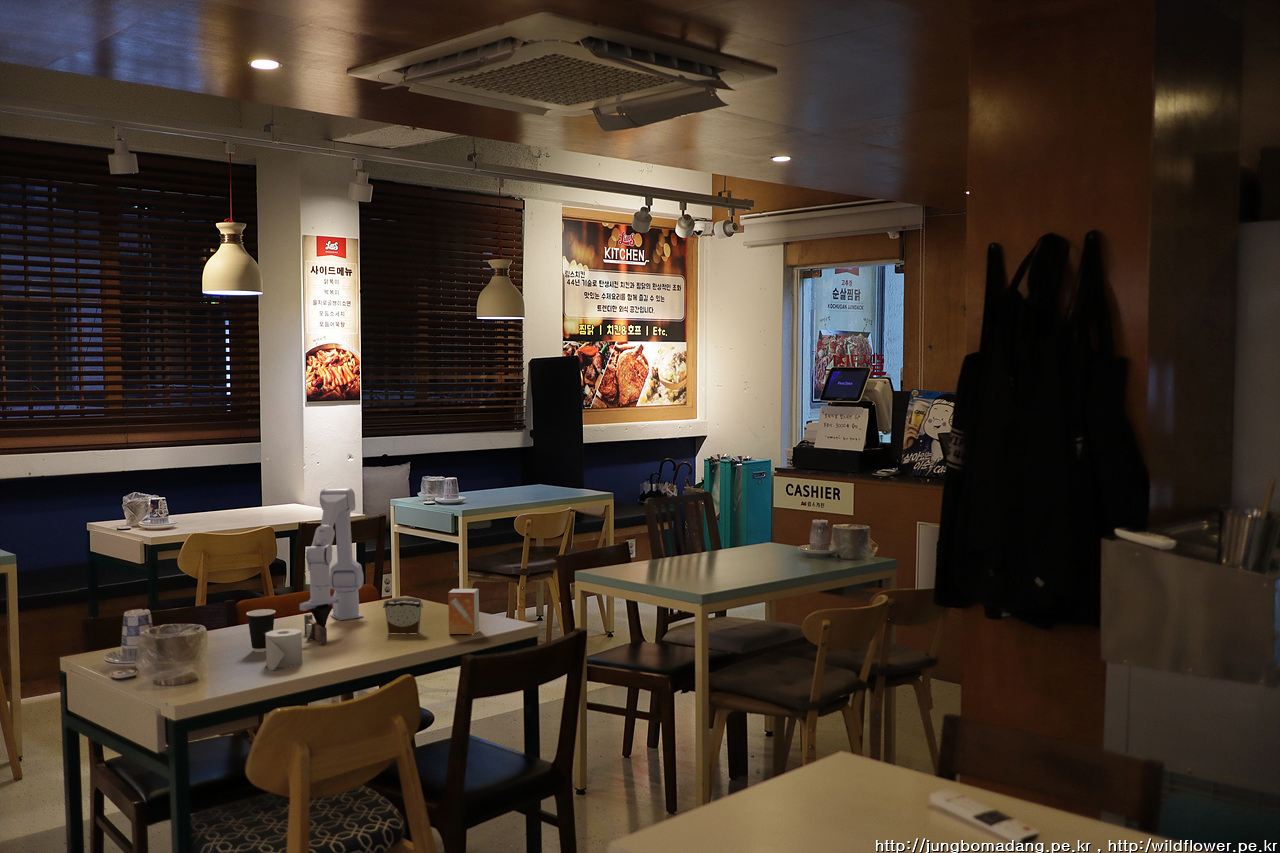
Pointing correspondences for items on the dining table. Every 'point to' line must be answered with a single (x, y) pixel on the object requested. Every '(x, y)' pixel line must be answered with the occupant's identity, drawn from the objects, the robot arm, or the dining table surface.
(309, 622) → the brown long bar
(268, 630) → the dixie cup
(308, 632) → the post
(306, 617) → the hinge post
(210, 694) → the dining table surface
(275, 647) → the toilet tissue
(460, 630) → the small box
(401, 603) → the food container
